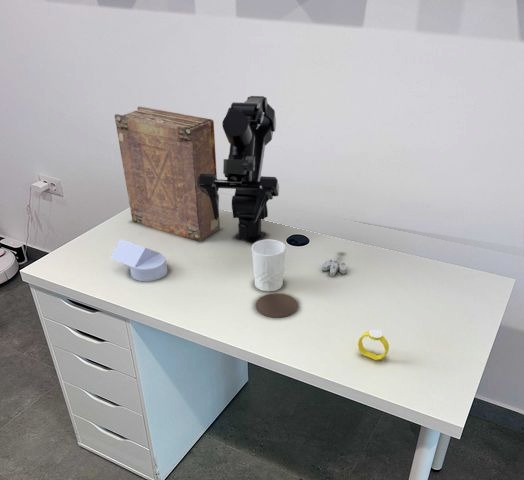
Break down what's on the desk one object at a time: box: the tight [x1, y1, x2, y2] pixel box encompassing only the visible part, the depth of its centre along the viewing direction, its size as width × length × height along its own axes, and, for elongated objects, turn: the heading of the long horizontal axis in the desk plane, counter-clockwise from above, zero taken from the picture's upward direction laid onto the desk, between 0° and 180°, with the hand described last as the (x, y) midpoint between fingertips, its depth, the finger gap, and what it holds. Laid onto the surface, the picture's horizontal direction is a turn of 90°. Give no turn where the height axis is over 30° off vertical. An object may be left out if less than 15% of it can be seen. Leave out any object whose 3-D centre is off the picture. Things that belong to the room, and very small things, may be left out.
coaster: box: [255, 292, 299, 319], centre depth 122 cm, size 10×10×1 cm
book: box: [114, 106, 221, 242], centre depth 146 cm, size 25×9×30 cm, turn 58°
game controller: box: [322, 252, 347, 277], centre depth 136 cm, size 6×12×3 cm, turn 179°
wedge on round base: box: [109, 238, 168, 282], centre depth 134 cm, size 9×7×13 cm
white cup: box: [251, 238, 287, 292], centre depth 127 cm, size 8×8×10 cm
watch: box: [357, 328, 390, 361], centre depth 106 cm, size 6×3×6 cm, turn 58°
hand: (235, 220), depth 126 cm, fingers open, 9 cm apart
